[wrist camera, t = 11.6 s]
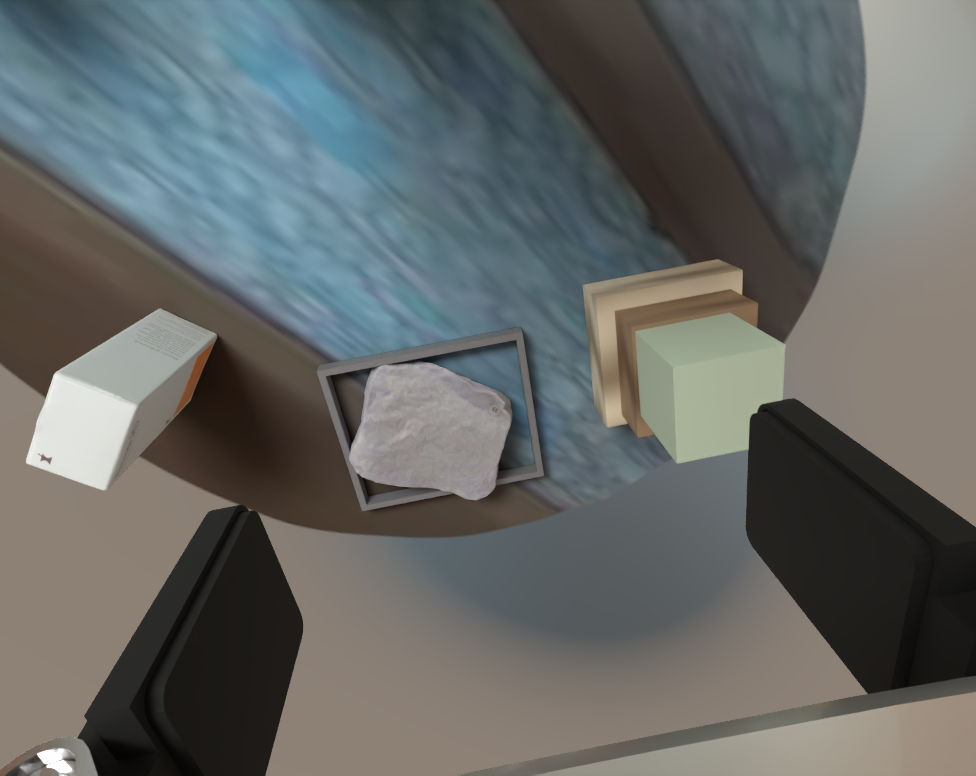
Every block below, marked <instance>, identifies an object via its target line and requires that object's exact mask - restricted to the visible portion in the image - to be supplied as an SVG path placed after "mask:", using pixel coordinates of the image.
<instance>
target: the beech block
mask: <svg viewBox="0 0 976 776" xmlns="http://www.w3.org/2000/svg"><path fill="white" fill-rule="evenodd" d="M742 280H743V270H742V269H740V268H737V267H735V266H733V265H730V264H728V263H726V262H723V261H721V260H719V259H716V260H711V261H705V262H700V263H695V264H690V265H684V266H679V267H674V268H669V269H663V270H658V271H653V272H648V273H642V274H637V275H632V276H627V277H621V278H616V279H611V280H606V281H601V282H595V283H590V284H585V285H583V294H584V304H585V314H586V324H587V335H588V345H589V355H590V365H591V375H592V385H593V395H594V405H595V408H596V410H597V411H598V413H599V415H600V416H601V418H602V420H603V421H604V423H605V425H606V426H607V428H608V427H613V426H618V425H623V424H628V423H627V421H626V420H625V418H624V417H623V416H622V410H621V396H620V382H619V367H618V353H617V338H616V324H615V311H616V310H622V309H627V308H632V307H638V306H643V305H648V304H654V303H659V302H665V301H670V300H675V299H681V298H686V297H691V296H697V295H702V294H707V293H713V292H718V291H724V290H729V289H731V290H733V291H735V292H737V293H739V294H741V295H742Z"/></svg>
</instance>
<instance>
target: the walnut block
mask: <svg viewBox="0 0 976 776" xmlns="http://www.w3.org/2000/svg"><path fill="white" fill-rule="evenodd" d="M729 312H730V313H732V314H733V315H735V316H737V317H739V318H740V319H742V320H744V321H745V322H747V323H749V324H751V325H752V326H754V327H756V328H757V319H758V303H757V302H755V301H753V300H751V299H749V298H747V297H745V296H743V295H741V294H739V293H737V292H735V291H733V290H731V289H729V290H724V291H718V292H713V293H707V294H702V295H697V296H691V297H686V298H681V299H675V300H670V301H665V302H659V303H654V304H648V305H643V306H638V307H632V308H627V309H622V310H616V311H615V324H616V338H617V353H618V367H619V382H620V396H621V410H622V416H623V417H624V418H625V420H626V421H627V423H628V424H629V426H630V427H631V429H632V430H633V432H634V433H635V435H636V436H637V438H640V437H645V436H651V435H655V434H654V433H653V431H652V430H651V429H650V427H649V426H648V425H647V423H646V422H645V421H644V419H643V418H642V417H641V410H640V396H639V382H638V367H637V353H636V338H635V331H639V330H644V329H649V328H654V327H659V326H664V325H669V324H674V323H679V322H684V321H689V320H694V319H699V318H704V317H709V316H714V315H719V314H724V313H729Z"/></svg>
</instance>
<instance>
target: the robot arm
mask: <svg viewBox="0 0 976 776" xmlns="http://www.w3.org/2000/svg"><path fill="white" fill-rule="evenodd" d="M748 452H749V453H748V479H747V508H746V531H747V536H748V539H749V541H750V543H751V545H752V546H753V548H754V549H755V550H756V552H757V553H758V554H759V556H760V557H761V558H762V559H763V561H764V562H765V563H766V564H767V566H768V567H769V568H770V570H771V571H772V572H773V573H774V575H775V576H776V577H777V579H778V580H779V581H780V582H781V584H782V585H783V586H784V588H785V589H786V590H787V591H788V593H789V594H790V595H791V596H792V598H793V599H794V600H795V602H796V603H797V604H798V605H799V607H800V608H801V609H802V611H803V612H804V613H805V614H806V616H807V617H808V618H809V619H810V621H811V622H812V623H813V624H814V626H815V627H816V628H817V630H818V631H819V632H820V633H821V635H822V636H823V637H824V639H825V640H826V641H827V642H828V643H829V645H830V646H831V648H832V649H833V650H834V651H835V653H836V654H837V655H838V656H839V658H840V659H841V660H842V661H843V663H844V664H845V665H846V667H847V668H848V669H849V670H850V672H851V673H852V674H853V675H854V677H855V678H856V679H857V680H858V682H859V683H860V685H861V686H862V687H863V688H864V690H865V691H866V692H867V693H868V694H866V695H861V696H855V697H849V698H844V699H839V700H834V701H829V702H823V703H819V704H813V705H808V706H803V707H798V708H793V709H788V710H782V711H778V712H772V713H767V714H762V715H757V716H752V717H746V718H741V719H736V720H731V721H726V722H721V723H715V724H710V725H705V726H700V727H695V728H690V729H685V730H680V731H674V732H669V733H665V734H659V735H654V736H649V737H644V738H639V739H634V740H629V741H625V742H619V743H614V744H609V745H604V746H599V747H594V748H590V749H584V750H579V751H574V752H569V753H564V754H559V755H554V756H549V757H544V758H539V759H535V760H529V761H524V762H519V763H514V764H510V765H505V766H500V767H494V768H489V769H484V770H480V771H474V772H469V773H465V774H460V775H455V776H976V527H975V526H973V525H972V524H970V523H969V522H968V521H966V520H965V519H963V518H962V517H961V516H959V515H958V514H956V513H955V512H954V511H952V510H951V509H949V508H948V507H947V506H945V505H944V504H942V503H941V502H940V501H938V500H937V499H935V498H934V497H933V496H931V495H930V494H928V493H927V492H926V491H924V490H923V489H921V488H920V487H919V486H917V485H916V484H915V483H913V482H912V481H910V480H909V479H907V478H906V477H905V476H903V475H902V474H901V473H899V472H898V471H896V470H895V469H894V468H892V467H891V466H889V465H888V464H887V463H885V462H884V461H882V460H881V459H879V458H878V457H877V456H875V455H874V454H872V453H871V452H870V451H868V450H867V449H866V448H864V447H863V446H861V445H860V444H858V443H857V442H856V441H854V440H853V439H852V438H850V437H849V436H847V435H846V434H845V433H843V432H842V431H840V430H839V429H838V428H836V427H835V426H833V425H832V424H830V423H829V422H828V421H826V420H825V419H824V418H822V417H821V416H819V415H818V414H816V413H815V412H814V411H812V410H811V409H809V408H808V407H807V406H805V405H804V404H803V403H801V402H800V401H798V400H796V399H786V400H781V401H775V402H770V403H765V404H762V405H760V406H759V408H758V411H757V413H754V414H752V415H751V417H750V423H749V451H748ZM302 634H303V620H302V616H301V613H300V610H299V608H298V606H297V603H296V601H295V598H294V596H293V594H292V591H291V589H290V587H289V585H288V582H287V580H286V577H285V575H284V573H283V570H282V568H281V566H280V563H279V561H278V558H277V556H276V554H275V551H274V549H273V547H272V545H271V542H270V540H269V537H268V535H267V533H266V530H265V528H264V526H263V523H262V521H261V518H260V516H259V514H258V513H257V512H256V511H249V510H248V509H247V508H246V507H245V506H243V505H238V506H233V507H227V508H222V509H217V510H212V511H210V512H208V514H207V515H206V516H205V518H204V519H203V521H202V523H201V525H200V526H199V528H198V529H197V531H196V533H195V534H194V536H193V538H192V539H191V541H190V542H189V544H188V546H187V548H186V549H185V551H184V552H183V554H182V556H181V557H180V559H179V561H178V562H177V564H176V566H175V567H174V569H173V571H172V572H171V574H170V575H169V577H168V579H167V580H166V582H165V584H164V586H163V587H162V589H161V590H160V592H159V594H158V595H157V597H156V599H155V600H154V602H153V603H152V605H151V607H150V609H149V610H148V612H147V613H146V615H145V617H144V618H143V620H142V622H141V624H140V625H139V627H138V628H137V630H136V632H135V633H134V635H133V636H132V638H131V640H130V641H129V643H128V645H127V647H126V648H125V650H124V651H123V653H122V655H121V656H120V658H119V660H118V661H117V663H116V664H115V666H114V668H113V669H112V671H111V673H110V675H109V676H108V678H107V679H106V681H105V683H104V684H103V686H102V688H101V689H100V691H99V692H98V694H97V696H96V697H95V699H94V701H93V702H92V704H91V706H90V708H89V709H88V711H87V713H86V714H85V716H84V717H85V718H86V719H87V723H86V724H85V726H84V728H83V730H82V731H81V733H80V734H79V736H78V738H74V737H63V738H56V739H53V740H50V741H47V742H45V743H42V744H39V745H37V746H35V747H33V748H31V749H30V750H28V751H26V752H25V753H23V754H21V755H19V756H18V757H16V758H15V759H13V760H12V761H11V762H10V763H8V764H7V765H6V766H4V767H3V768H2V769H0V776H265V774H266V771H267V767H268V763H269V759H270V756H271V752H272V748H273V744H274V741H275V737H276V733H277V729H278V726H279V722H280V718H281V714H282V710H283V707H284V703H285V699H286V695H287V691H288V688H289V684H290V680H291V676H292V672H293V669H294V665H295V661H296V657H297V654H298V650H299V646H300V643H301V639H302Z"/></svg>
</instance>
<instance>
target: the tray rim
mask: <svg viewBox="0 0 976 776" xmlns="http://www.w3.org/2000/svg"><path fill="white" fill-rule="evenodd" d="M513 340H515V342H516V348H517V354H518V361H519V367H520V373H521V380H522V386H523V393H524V399H525V405H526V412H527V418H528V424H529V431H530V437H531V444H532V450H533V456H534V463H535V464H533V465H528V466H522V467H517V468H512V469H507V470H502V471H498V474H497V478H496V485H500V484H505V483H510V482H515V481H521V480H526V479H531V478H536V477H541V476H544V472H543V466H542V459H541V452H540V446H539V439H538V433H537V426H536V419H535V413H534V406H533V399H532V393H531V386H530V379H529V373H528V366H527V359H526V353H525V346H524V339H523V333H522V330H521V328H520V327H517V328H512V329H506V330H501V331H496V332H491V333H485V334H480V335H475V336H470V337H464V338H459V339H454V340H449V341H443V342H438V343H433V344H428V345H422V346H417V347H412V348H407V349H401V350H396V351H391V352H386V353H380V354H375V355H370V356H365V357H359V358H354V359H349V360H344V361H339V362H333V363H328V364H323V365H320V366H319V368H318V370H317V374H318V377H319V380H320V383H321V386H322V389H323V392H324V395H325V398H326V402H327V405H328V408H329V411H330V414H331V417H332V420H333V423H334V426H335V429H336V432H337V435H338V438H339V441H340V444H341V448H342V451H343V454H344V457H345V460H346V463H347V466H348V469H349V472H350V475H351V478H352V481H353V484H354V487H355V491H356V494H357V497H358V500H359V503H360V506H361V509H362V511H366V510H371V509H376V508H381V507H387V506H392V505H397V504H402V503H407V502H412V501H418V500H423V499H428V498H433V497H438V496H443V495H448V494H454V493H452V492H445V491H442V490H439V489H434V488H423V487H418V488H409V489H404V490H399V491H393V492H388V493H383V494H378V495H373V496H368V494H367V491H366V487H365V484H364V481H363V478H362V477H361V476H360V475H359V474H358V473H357V472H356V471H355V469H354V467H353V465H351V463H350V460H349V454H350V451H351V446H352V443H351V440H350V437H349V434H348V430H347V427H346V424H345V421H344V418H343V415H342V411H341V408H340V405H339V402H338V399H337V396H336V392H335V389H334V386H333V383H332V380H331V377H330V375H335V374H340V373H345V372H351V371H356V370H361V369H366V368H371V367H377V366H382V365H387V364H392V363H398V362H403V361H408V360H413V359H419V358H424V357H429V356H434V355H440V354H445V353H450V352H455V351H460V350H466V349H471V348H476V347H481V346H487V345H492V344H497V343H502V342H508V341H513Z"/></svg>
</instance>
